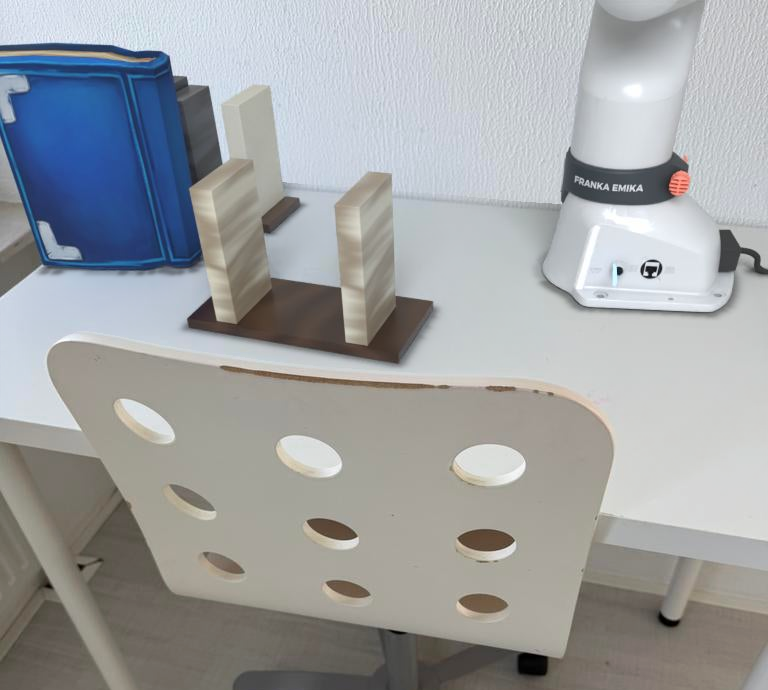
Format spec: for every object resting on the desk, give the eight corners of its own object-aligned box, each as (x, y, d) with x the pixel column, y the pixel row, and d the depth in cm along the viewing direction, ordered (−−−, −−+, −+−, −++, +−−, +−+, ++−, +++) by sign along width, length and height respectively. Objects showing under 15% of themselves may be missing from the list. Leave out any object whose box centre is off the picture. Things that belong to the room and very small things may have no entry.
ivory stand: (433, 310, 90) (434, 167, 79) (398, 363, 82) (394, 213, 71) (238, 281, 97) (213, 146, 86) (188, 327, 89) (154, 186, 78)
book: (215, 249, 104) (173, 38, 87) (200, 274, 99) (153, 54, 82) (63, 248, 106) (-7, 42, 89) (41, 272, 101) (-37, 58, 84)
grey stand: (300, 205, 114) (285, 76, 102) (270, 233, 107) (250, 99, 96) (201, 194, 119) (176, 70, 107) (166, 220, 112) (135, 90, 100)
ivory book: (284, 197, 114) (270, 85, 103) (256, 221, 107) (238, 105, 97) (268, 195, 114) (253, 84, 104) (240, 219, 108) (220, 103, 98)
